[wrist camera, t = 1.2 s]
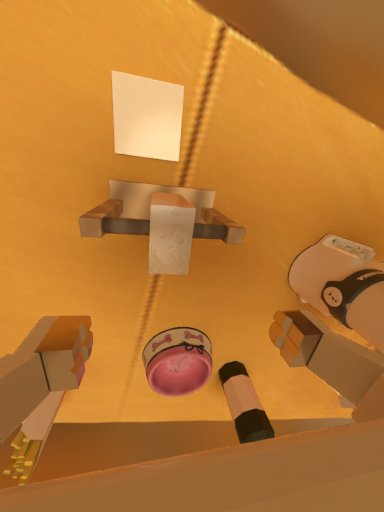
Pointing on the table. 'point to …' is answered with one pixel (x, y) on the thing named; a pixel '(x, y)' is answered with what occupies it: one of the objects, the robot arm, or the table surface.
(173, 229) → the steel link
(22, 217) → the table surface
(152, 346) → the dog bowl
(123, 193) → the rail stand
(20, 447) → the french fries container
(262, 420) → the wine bottle
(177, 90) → the ceramic tile
